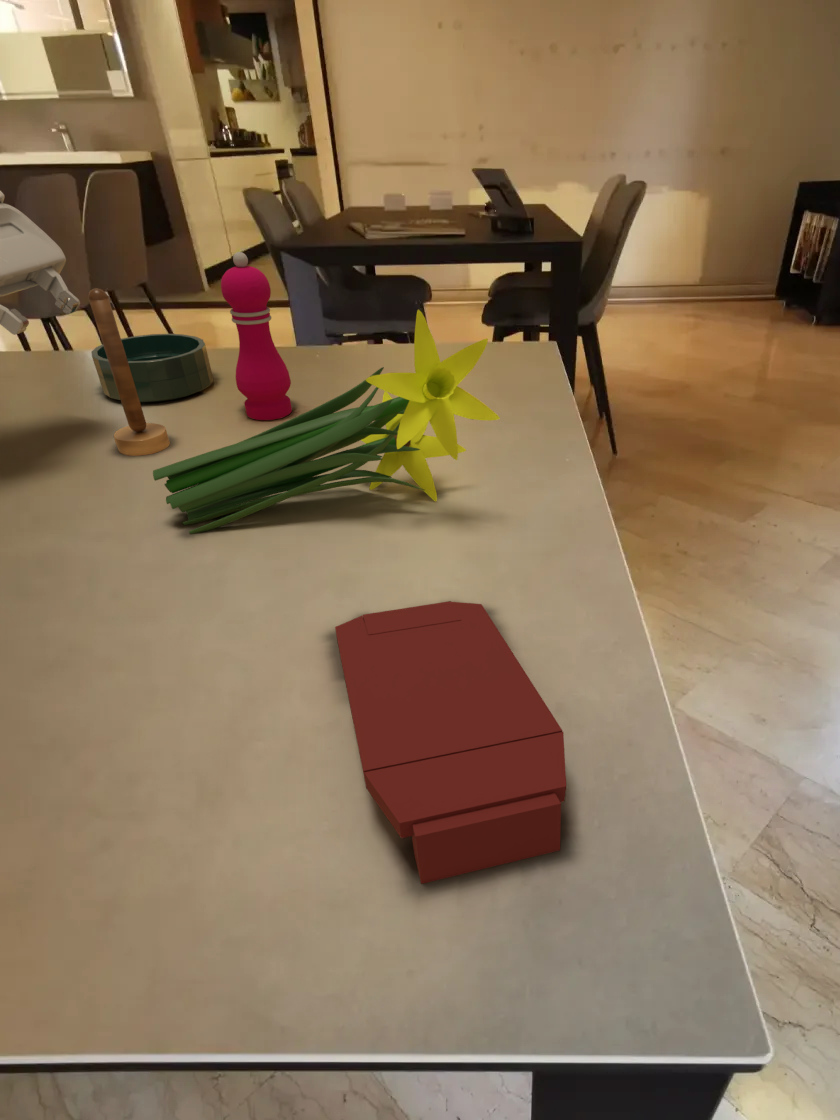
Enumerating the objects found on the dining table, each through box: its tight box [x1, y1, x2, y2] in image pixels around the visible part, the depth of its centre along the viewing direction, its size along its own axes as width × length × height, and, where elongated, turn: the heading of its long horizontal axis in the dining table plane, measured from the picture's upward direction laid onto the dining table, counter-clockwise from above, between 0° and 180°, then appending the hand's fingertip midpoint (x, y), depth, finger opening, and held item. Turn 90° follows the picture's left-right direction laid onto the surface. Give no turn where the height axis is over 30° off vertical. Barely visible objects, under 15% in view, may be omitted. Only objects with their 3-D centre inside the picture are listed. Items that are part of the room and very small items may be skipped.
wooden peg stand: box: [87, 287, 171, 457], centre depth 82 cm, size 6×6×18 cm
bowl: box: [91, 333, 214, 403], centre depth 105 cm, size 16×16×6 cm
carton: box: [334, 600, 567, 885], centre depth 49 cm, size 12×5×25 cm
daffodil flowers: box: [152, 309, 501, 535], centre depth 71 cm, size 17×15×35 cm
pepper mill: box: [220, 251, 293, 421], centre depth 92 cm, size 7×7×20 cm
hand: (50, 318), depth 78 cm, fingers open, 8 cm apart
